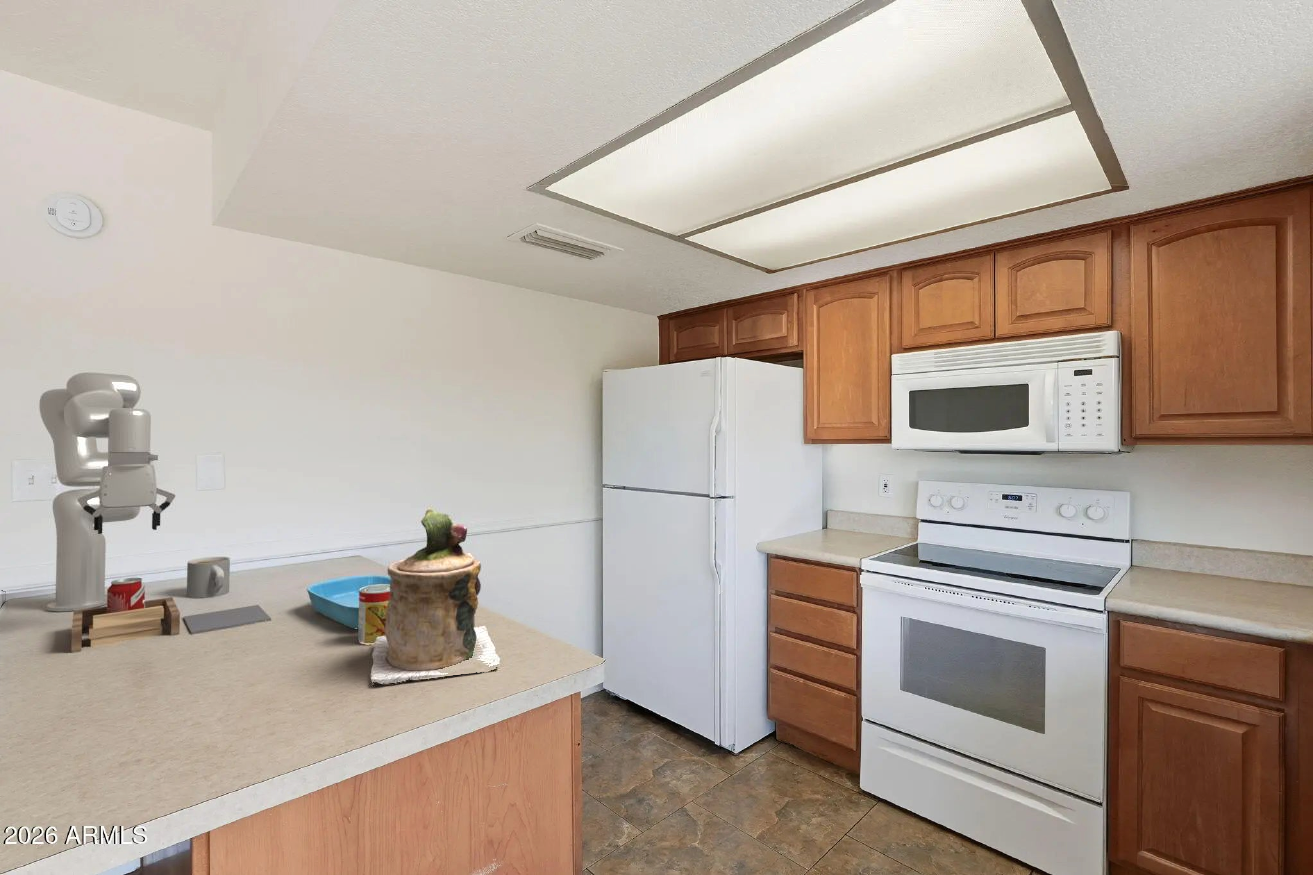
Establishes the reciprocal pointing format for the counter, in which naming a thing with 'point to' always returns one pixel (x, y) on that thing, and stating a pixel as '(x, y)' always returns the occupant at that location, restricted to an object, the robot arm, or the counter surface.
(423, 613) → the cookie jar
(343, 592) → the casserole dish
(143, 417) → the robot arm
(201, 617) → the rubber mat
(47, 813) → the counter surface
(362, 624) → the canned food
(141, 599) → the soda can
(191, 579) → the coffee mug
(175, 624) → the frame
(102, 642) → the offcut stack
